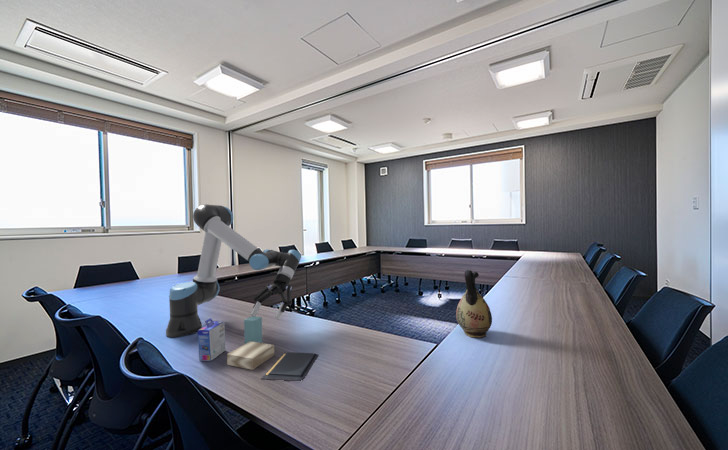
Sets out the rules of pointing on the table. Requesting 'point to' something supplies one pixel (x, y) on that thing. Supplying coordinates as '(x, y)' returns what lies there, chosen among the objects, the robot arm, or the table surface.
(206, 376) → the table surface
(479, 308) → the ceramic jug
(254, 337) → the teal block
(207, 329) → the ink cartridge box
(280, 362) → the wallet
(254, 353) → the birch riser
